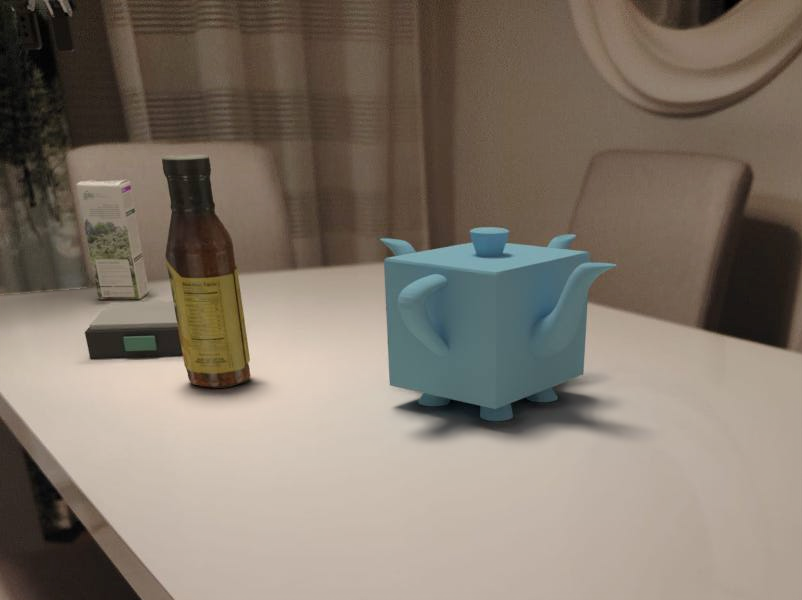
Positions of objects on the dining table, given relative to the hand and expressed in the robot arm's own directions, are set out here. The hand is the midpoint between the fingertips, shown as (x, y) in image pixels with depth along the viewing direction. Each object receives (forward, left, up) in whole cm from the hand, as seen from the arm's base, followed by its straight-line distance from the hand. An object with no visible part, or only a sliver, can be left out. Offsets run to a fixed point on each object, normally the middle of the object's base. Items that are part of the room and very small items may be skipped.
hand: (50, 50), depth 119 cm
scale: (+13, -34, -29) cm, 47 cm away
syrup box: (+5, -5, -29) cm, 30 cm away
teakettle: (+48, -61, -29) cm, 83 cm away
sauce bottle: (+22, -52, -29) cm, 64 cm away
